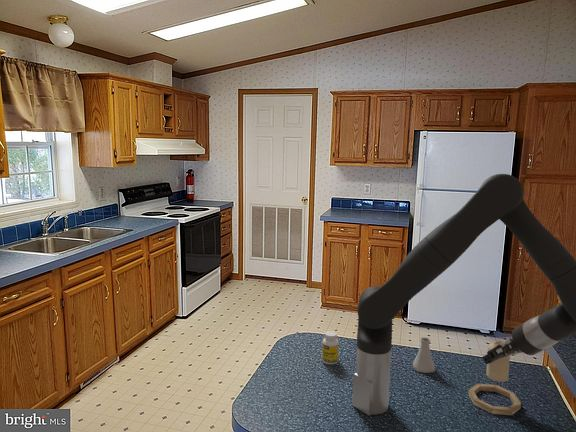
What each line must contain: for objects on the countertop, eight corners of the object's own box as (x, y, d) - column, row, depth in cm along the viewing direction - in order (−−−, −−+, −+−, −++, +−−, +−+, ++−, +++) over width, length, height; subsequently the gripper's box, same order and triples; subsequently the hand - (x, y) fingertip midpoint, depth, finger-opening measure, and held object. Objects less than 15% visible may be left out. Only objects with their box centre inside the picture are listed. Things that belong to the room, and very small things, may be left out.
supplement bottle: (320, 363, 140) (320, 335, 139) (323, 355, 146) (324, 329, 144) (336, 366, 139) (337, 337, 137) (339, 358, 144) (340, 331, 142)
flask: (438, 374, 134) (440, 344, 133) (415, 373, 134) (417, 344, 133) (431, 362, 142) (433, 334, 140) (409, 362, 142) (411, 334, 140)
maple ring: (505, 420, 112) (506, 415, 111) (461, 398, 121) (462, 393, 121) (526, 403, 119) (527, 398, 119) (483, 384, 129) (483, 379, 128)
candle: (489, 369, 123) (491, 337, 121) (510, 376, 119) (512, 342, 118) (483, 377, 118) (486, 343, 117) (505, 384, 115) (508, 349, 113)
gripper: (545, 316, 112) (502, 340, 125) (509, 325, 106) (467, 350, 119) (563, 343, 108) (517, 365, 121) (527, 354, 102) (481, 377, 115)
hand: (492, 358), depth 120 cm, fingers closed on candle, 5 cm apart
